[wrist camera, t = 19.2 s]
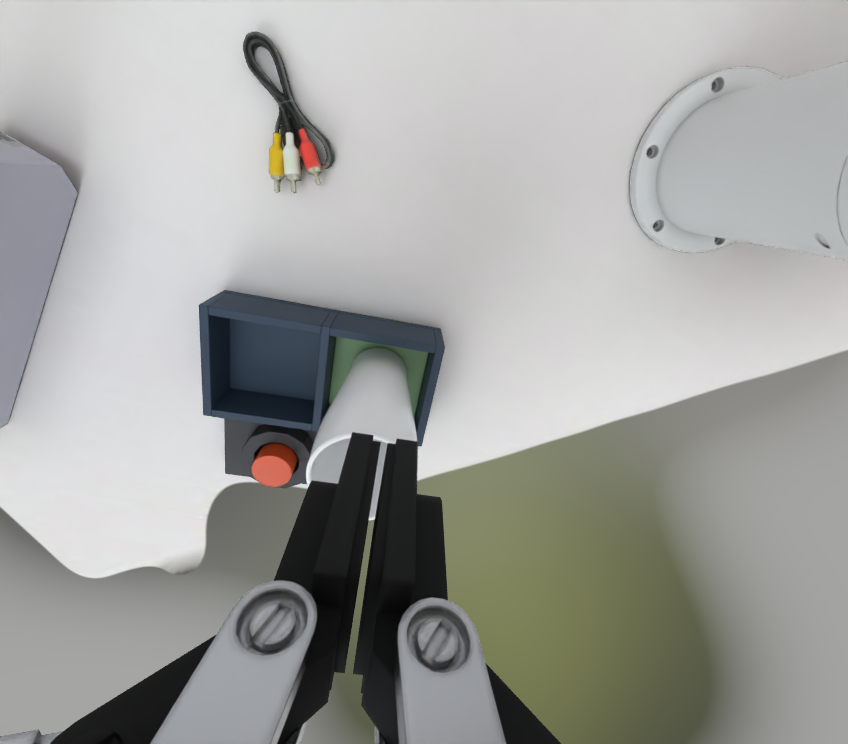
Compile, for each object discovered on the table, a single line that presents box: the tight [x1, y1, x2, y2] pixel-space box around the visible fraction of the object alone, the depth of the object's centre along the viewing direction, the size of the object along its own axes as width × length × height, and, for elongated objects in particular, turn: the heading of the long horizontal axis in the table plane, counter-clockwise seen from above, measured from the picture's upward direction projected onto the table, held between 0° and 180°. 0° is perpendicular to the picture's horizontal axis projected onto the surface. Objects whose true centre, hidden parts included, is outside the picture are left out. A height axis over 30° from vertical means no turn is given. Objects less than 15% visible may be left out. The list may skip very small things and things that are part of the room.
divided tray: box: [199, 290, 445, 446], centre depth 35 cm, size 19×10×5 cm, turn 79°
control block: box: [225, 418, 318, 488], centre depth 40 cm, size 11×8×4 cm
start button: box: [252, 443, 297, 487], centre depth 37 cm, size 4×4×2 cm
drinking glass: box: [306, 348, 418, 520], centre depth 30 cm, size 7×7×15 cm
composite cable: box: [243, 32, 334, 193], centre depth 28 cm, size 10×5×2 cm, turn 8°
